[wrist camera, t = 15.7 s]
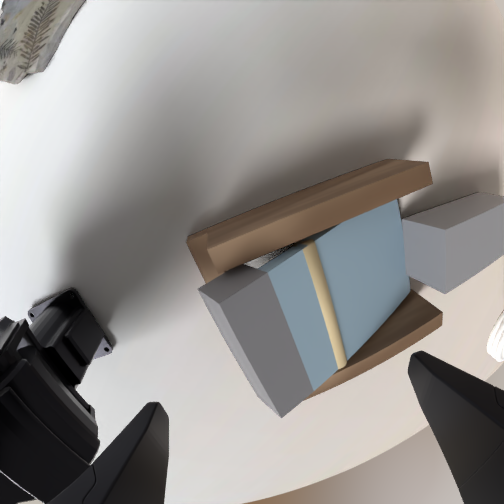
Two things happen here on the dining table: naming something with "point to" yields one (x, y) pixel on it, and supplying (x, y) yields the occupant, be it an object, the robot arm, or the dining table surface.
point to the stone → (454, 240)
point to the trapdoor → (311, 305)
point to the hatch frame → (318, 219)
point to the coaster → (497, 340)
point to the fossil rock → (31, 34)
